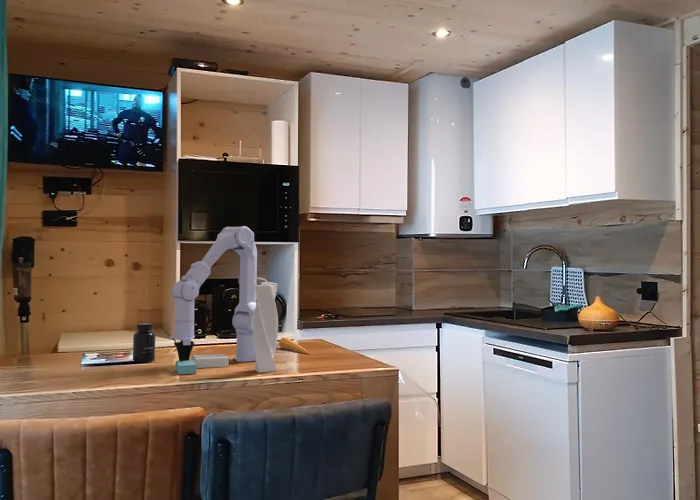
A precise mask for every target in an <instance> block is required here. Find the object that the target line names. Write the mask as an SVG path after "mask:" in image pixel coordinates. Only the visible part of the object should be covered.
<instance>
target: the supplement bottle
mask: <svg viewBox="0 0 700 500" xmlns="http://www.w3.org/2000/svg"><path fill="white" fill-rule="evenodd" d="M153 329H154V328H153V323H150V322H149V323H147V322H144V323H137V324H136V330H137V331H136V332H134V334H133V335H132V337H133V339H132V361H133V360H134V361H137V362H136V363H150V362H151V363H152V362H154V361H155V359H156V357H155V356H156V333H155V332H154V331H153ZM134 361H133V362H134Z"/></svg>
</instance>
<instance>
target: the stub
mask: <svg viewBox="0 0 700 500" xmlns="http://www.w3.org/2000/svg"><path fill="white" fill-rule="evenodd" d="M175 371H176V373H177V374H178V375H190V374H191V375H192V374H197V368H196V364H195V362H194V361H193V360H191V359H189V360H187V361H179V360H176V361H175Z"/></svg>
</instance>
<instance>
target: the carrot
mask: <svg viewBox="0 0 700 500" xmlns="http://www.w3.org/2000/svg"><path fill="white" fill-rule="evenodd" d="M278 346H279V347H280V348H281V349H282V350H286V351H292V352H296V353H301V354H304V355H305V354H306V355H313V354H312V353H310V352H309V351H308V350H307V349H305V348H304V347H302V346H301V345H300V344H298V343H297V342H295V341H293V340H292V339H290V338H289V337H281V338H280V339H279V340H278Z"/></svg>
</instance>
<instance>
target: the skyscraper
mask: <svg viewBox="0 0 700 500" xmlns="http://www.w3.org/2000/svg"><path fill="white" fill-rule="evenodd" d="M254 279H257V280H262V281H264V282H261V284H259V285H255V282H254ZM252 280H253V283H254V287H255V293H256V307H255V312H254V320H253V336H254V346H255V353H256V359H257V360H256V361H255V365H254V367H253V370H254V371H256V372H257V373H260V372H261V373H270V372H271V373H272V372H277V371H278V370H277V368H276V364H275V360H274V359H275V358H274V357H275V353H276V349H277V344H278V343H277V342H278V335H279V334H278V333H279V315H278V309H277V303H276V296H277V291H278V287H279V284H278V283H276V282H272V281H271V282H270V281H269V280H268V279H265V278H263V277H258V276H257V277H254V278H253V279H252Z"/></svg>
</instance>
